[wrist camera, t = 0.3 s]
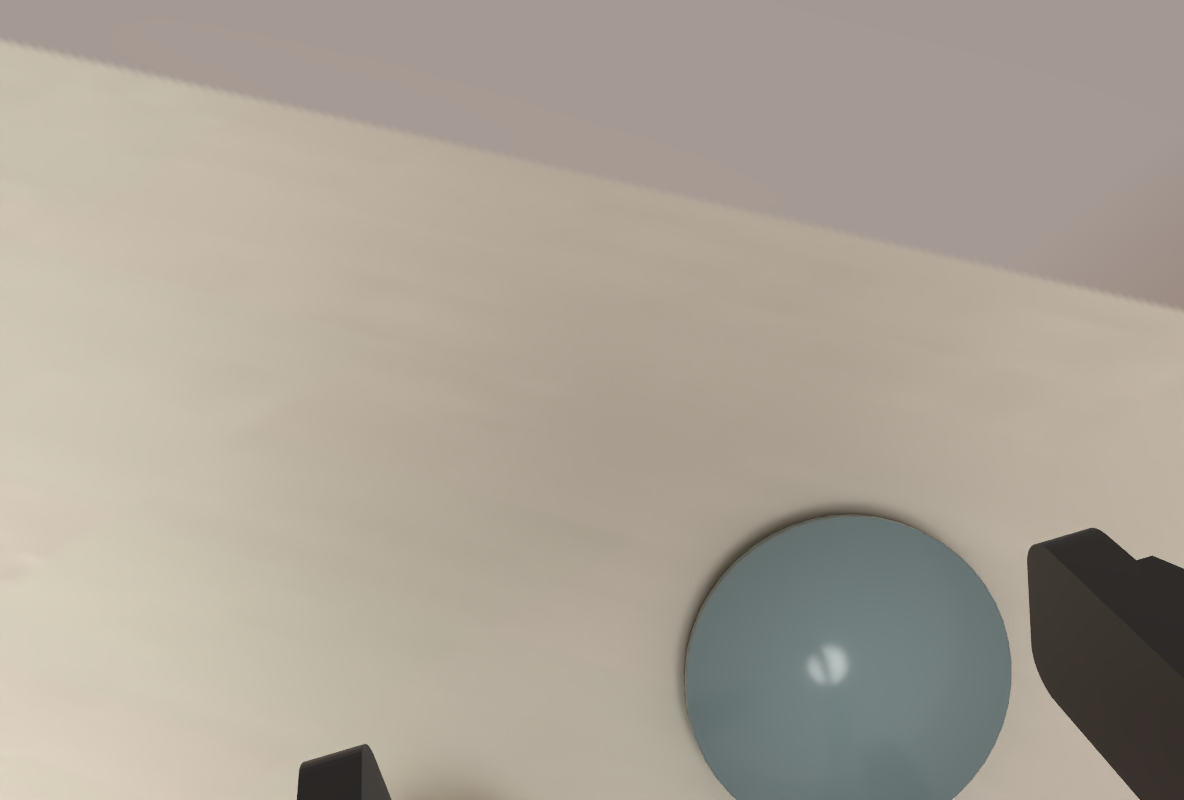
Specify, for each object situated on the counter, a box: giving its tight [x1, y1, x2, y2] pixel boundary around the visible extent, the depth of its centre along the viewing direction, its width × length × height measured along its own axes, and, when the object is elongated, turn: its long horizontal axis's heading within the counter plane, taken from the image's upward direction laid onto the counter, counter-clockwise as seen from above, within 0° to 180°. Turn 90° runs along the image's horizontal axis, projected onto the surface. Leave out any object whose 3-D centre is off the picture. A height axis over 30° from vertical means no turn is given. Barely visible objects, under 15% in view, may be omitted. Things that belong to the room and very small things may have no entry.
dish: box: [684, 514, 1011, 800], centre depth 45 cm, size 13×13×1 cm
